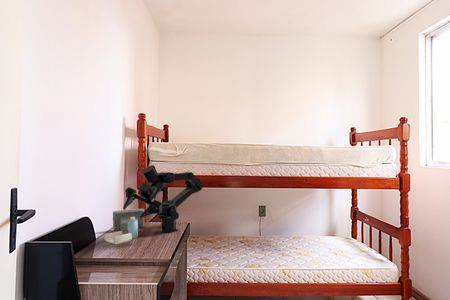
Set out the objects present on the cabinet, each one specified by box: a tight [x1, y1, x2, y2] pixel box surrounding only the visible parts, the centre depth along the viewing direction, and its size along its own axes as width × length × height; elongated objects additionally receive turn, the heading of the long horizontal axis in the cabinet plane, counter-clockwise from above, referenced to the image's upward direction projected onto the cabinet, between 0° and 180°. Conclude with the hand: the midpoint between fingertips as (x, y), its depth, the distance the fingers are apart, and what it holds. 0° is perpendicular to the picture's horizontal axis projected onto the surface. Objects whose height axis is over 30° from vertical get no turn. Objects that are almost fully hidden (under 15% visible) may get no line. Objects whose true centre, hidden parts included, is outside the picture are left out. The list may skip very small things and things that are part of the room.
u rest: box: [103, 230, 133, 245], centre depth 140 cm, size 8×10×3 cm
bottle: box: [127, 217, 139, 239], centre depth 146 cm, size 5×5×10 cm
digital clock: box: [112, 208, 145, 233], centre depth 163 cm, size 16×9×11 cm, turn 99°
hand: (131, 212), depth 135 cm, fingers open, 9 cm apart
